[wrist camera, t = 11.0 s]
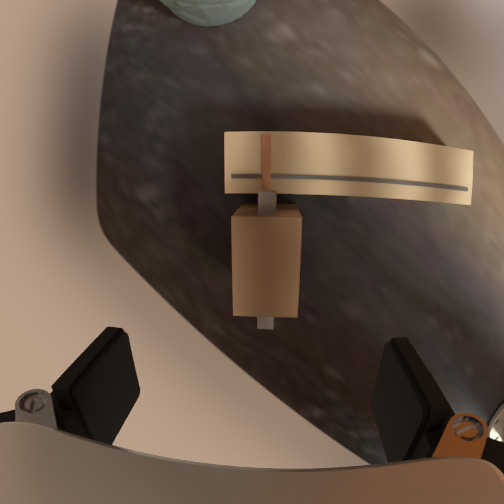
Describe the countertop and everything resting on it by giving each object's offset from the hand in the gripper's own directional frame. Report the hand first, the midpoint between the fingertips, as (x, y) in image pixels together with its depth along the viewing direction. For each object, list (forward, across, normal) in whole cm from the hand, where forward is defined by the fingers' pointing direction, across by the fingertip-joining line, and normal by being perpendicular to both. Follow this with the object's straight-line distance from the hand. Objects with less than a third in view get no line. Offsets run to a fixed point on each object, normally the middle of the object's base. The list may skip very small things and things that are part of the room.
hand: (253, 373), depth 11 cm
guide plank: (+18, -7, -7) cm, 21 cm away
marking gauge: (+18, 0, 0) cm, 18 cm away
